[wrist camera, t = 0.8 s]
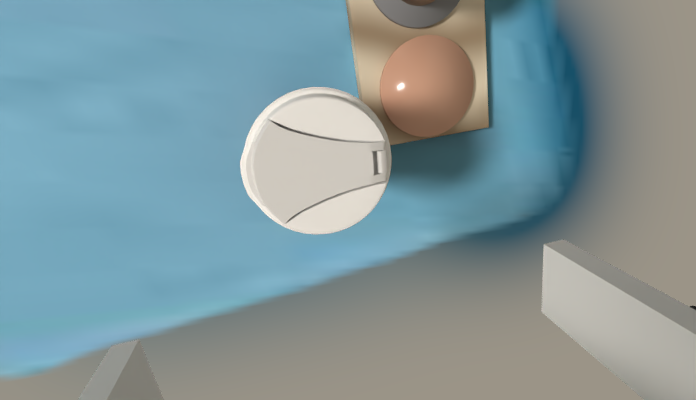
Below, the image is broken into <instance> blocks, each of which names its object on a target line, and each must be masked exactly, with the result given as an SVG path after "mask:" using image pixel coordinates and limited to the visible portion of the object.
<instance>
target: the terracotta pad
mask: <svg viewBox="0 0 696 400" xmlns="http://www.w3.org/2000/svg"><path fill="white" fill-rule="evenodd" d="M473 88H474V78H473V71H472V67H471V64H470V62H469V60H468V58H467V56H466V54H465V53H464V51H463V50H462V49H461V48H460V47H459V46H458V45H457V44H456V43H454V42H453V41H451V40H449V39H447V38H445V37H442V36H438V35H423V36H418V37H416V38H413V39H410V40H408V41H407V42H405V43H403V44H402V45H401V46H399V47H398V48H397V49H396V50H395V51H394V52H393V53H392V55H391V56H390V57H389V59H388V60H387V62H386V64H385V66H384V68H383V71H382V75H381V80H380V98H381V103H382V106H383V109H384V111H385V113H386V115H387V117H388V118H389V120H390V121H391V122H392V123H393V124H394V125H395V126H396V127H397V128H399V129H400V130H402V131H403V132H405V133H408V134H411V135H414V136H419V137H430V136H435V135H439V134H441V133H444V132H446V131H447V130H449V129H451V128H452V127H453V126H454V125H456V124H457V123H458V122H459V120H460V119H461V118H462V117H463V115H464V114H465V112H466V111H467V109H468V107H469V104H470V102H471V99H472V94H473Z"/></svg>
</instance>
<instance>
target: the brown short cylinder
mask: <svg viewBox="0 0 696 400" xmlns="http://www.w3.org/2000/svg"><path fill="white" fill-rule="evenodd" d="M402 1H403V2H405V3H407V4H410V5H413V6H423V5H427V4H430V3H432V2H433V1H435V0H402Z"/></svg>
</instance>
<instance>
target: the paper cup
mask: <svg viewBox="0 0 696 400" xmlns="http://www.w3.org/2000/svg"><path fill="white" fill-rule="evenodd" d="M391 158H392V156H391V148H390V143H389V140H388V136H387V133H386V131H385V129H384V127H383V125H382V123H381V122H380V120H379V119H378V117H377V116H376V114H375V113H374V112H373V111H372V110H371V109H370V108H369V107H368V106H367V105H366V104H365V103H363V102H362V101H361V100H359V99H358V98H356V97H354V96H352V95H350V94H349V93H346V92H343V91H340V90H337V89H332V88H326V87H310V88H304V89H299V90H296V91H293V92H290V93H287V94H286V95H284V96H282V97H280V98H278V99H276V100H275V101H274V102H273V103H271V104H270V105H269V106H267V107H266V109H265V110H264V111H263V112H262V113H261V114H260V115H259V116H258V118H257V119H256V121H255V122H254V124H253V125H252V127H251V130H250V132H249V134H248V136H247V139H246V143H245V147H244V151H243V154H242V157H241V161H240V166H241V175H242V179H243V183H244V186H245V188H246V191H247V193H248V195H249V197H250V198H251V199H252V200H253V201H254V202H255V203H256V204H257V205H258V206H259V207H260V208H261V210H262V211H263V212H264V213H265V214H266V215H267V216H269V217H270V218H271V219H272V220H273V221H275V222H277V223H278V224H280V225H282V226H283V227H286V228H288V229H291V230H293V231H297V232H301V233H306V234H328V233H333V232H338V231H341V230H344V229H346V228H349V227H351V226H353V225H354V224H356V223H358V222H359V221H361V220H362V219H363V218H364V217H366V216H367V215H368V214H369V213H370V212H371V211H372V210H373V209H374V207H375V206H376V204H377V203H378V202H379V200H380V199H381V197H382V195H383V193H384V191H385V189H386V186H387V183H388V181H389V177H390V171H391Z"/></svg>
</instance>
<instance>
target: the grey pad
mask: <svg viewBox="0 0 696 400" xmlns="http://www.w3.org/2000/svg"><path fill="white" fill-rule="evenodd" d="M373 1H374V3H375V5H376V6H377V8H378V9H379V10H380V12H381V13H382V14H383V15H384V16H385V17H387V18H388V19H389V20H390V21H392V22H394V23H395V24H398V25H400V26H403V27H407V28H424V27H428V26H430V25H433V24H435V23H437V22H439V21H441V20H442V19H444V18H445V17H446V16H448V15H449V14H450V13H451V12H452V11H453V9H454V8H455V7H456V6H457V4H458V2H459V1H460V0H435V1H433V2H432V3H430V4H427V5H423V6H413V5H410V4H407V3H405V2H403V1H402V0H373Z"/></svg>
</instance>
